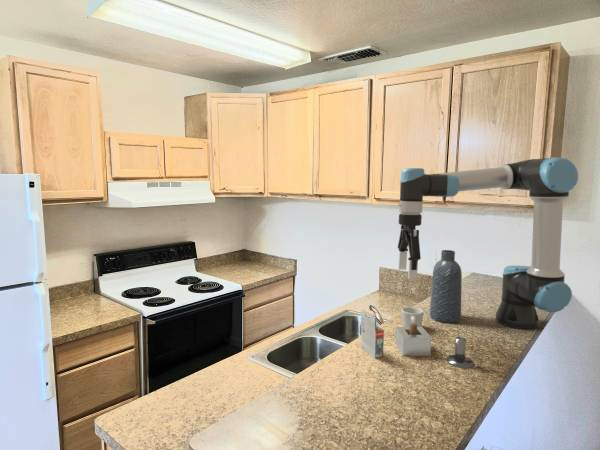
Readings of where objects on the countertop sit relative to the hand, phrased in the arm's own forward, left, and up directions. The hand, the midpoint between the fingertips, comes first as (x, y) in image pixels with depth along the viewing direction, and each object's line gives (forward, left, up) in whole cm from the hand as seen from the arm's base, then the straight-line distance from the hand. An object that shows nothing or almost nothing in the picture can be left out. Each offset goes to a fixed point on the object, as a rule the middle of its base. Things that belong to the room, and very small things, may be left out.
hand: (407, 274), depth 133 cm
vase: (-23, -22, -25) cm, 40 cm away
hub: (-12, +18, -25) cm, 33 cm away
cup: (-5, -8, -25) cm, 27 cm away
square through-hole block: (0, +9, -24) cm, 25 cm away
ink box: (+14, +11, -25) cm, 30 cm away
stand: (0, +9, -25) cm, 26 cm away
